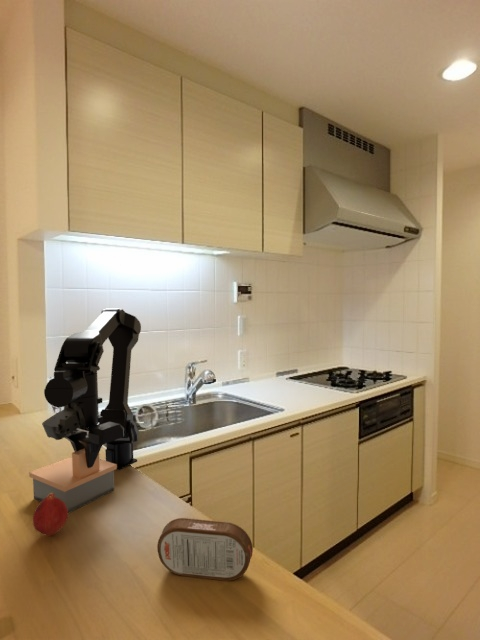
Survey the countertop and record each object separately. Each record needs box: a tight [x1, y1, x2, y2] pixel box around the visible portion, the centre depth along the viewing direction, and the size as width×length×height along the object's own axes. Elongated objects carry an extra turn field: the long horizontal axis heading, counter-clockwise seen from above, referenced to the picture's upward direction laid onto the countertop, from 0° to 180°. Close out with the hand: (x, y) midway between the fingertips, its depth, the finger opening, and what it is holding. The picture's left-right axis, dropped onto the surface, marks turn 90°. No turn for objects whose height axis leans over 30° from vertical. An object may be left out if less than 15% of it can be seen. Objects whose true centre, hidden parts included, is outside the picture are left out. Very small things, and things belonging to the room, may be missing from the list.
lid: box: [28, 448, 118, 492], centre depth 90 cm, size 13×13×8 cm
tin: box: [156, 517, 254, 582], centre depth 63 cm, size 15×3×8 cm, turn 80°
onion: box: [32, 493, 69, 537], centre depth 74 cm, size 6×6×8 cm
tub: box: [32, 470, 115, 514], centre depth 90 cm, size 12×12×5 cm
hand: (86, 466), depth 87 cm, fingers closed on lid, 2 cm apart
